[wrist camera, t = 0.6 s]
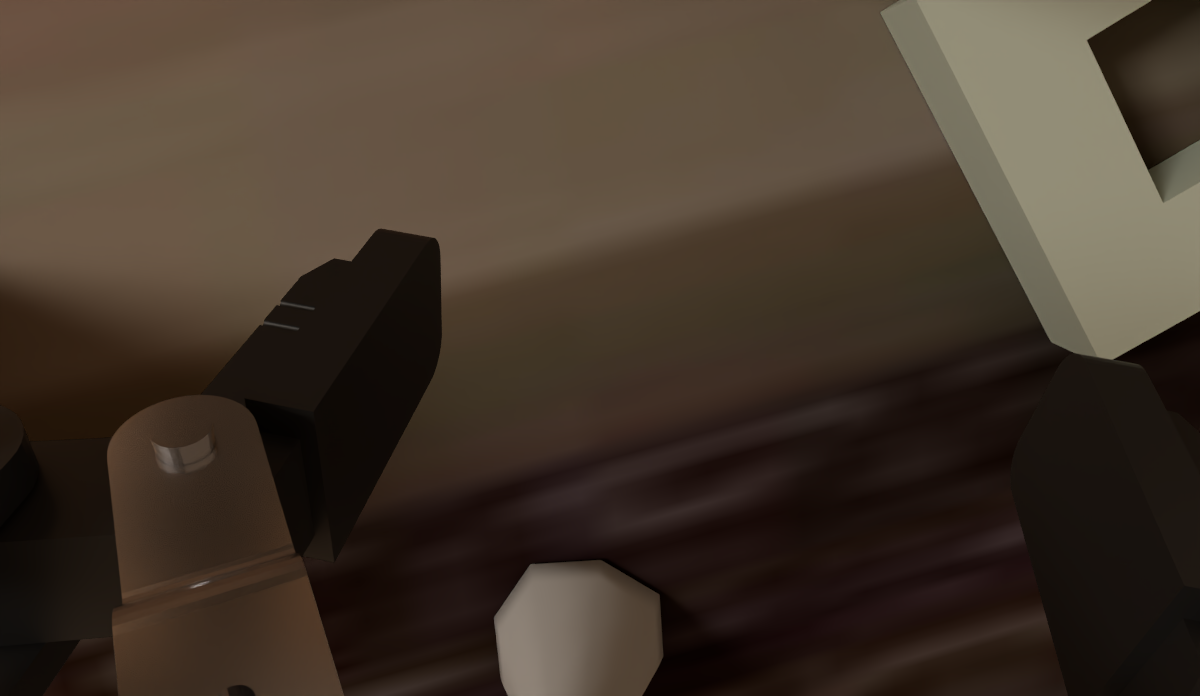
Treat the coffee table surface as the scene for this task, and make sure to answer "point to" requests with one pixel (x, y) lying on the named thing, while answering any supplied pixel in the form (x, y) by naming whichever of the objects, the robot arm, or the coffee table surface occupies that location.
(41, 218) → the coffee table surface
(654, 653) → the flask
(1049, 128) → the white flat square block
